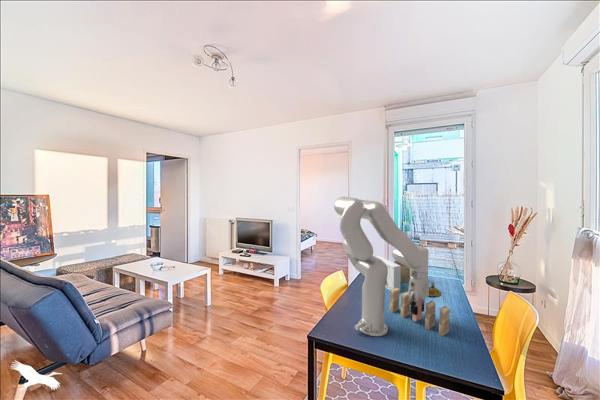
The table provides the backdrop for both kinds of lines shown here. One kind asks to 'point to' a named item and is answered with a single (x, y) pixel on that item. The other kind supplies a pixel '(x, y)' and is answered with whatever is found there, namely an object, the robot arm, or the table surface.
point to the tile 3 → (430, 315)
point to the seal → (434, 291)
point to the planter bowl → (404, 272)
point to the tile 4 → (444, 320)
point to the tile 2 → (419, 316)
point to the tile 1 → (405, 305)
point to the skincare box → (392, 274)
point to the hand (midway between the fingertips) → (417, 311)
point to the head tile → (394, 300)
